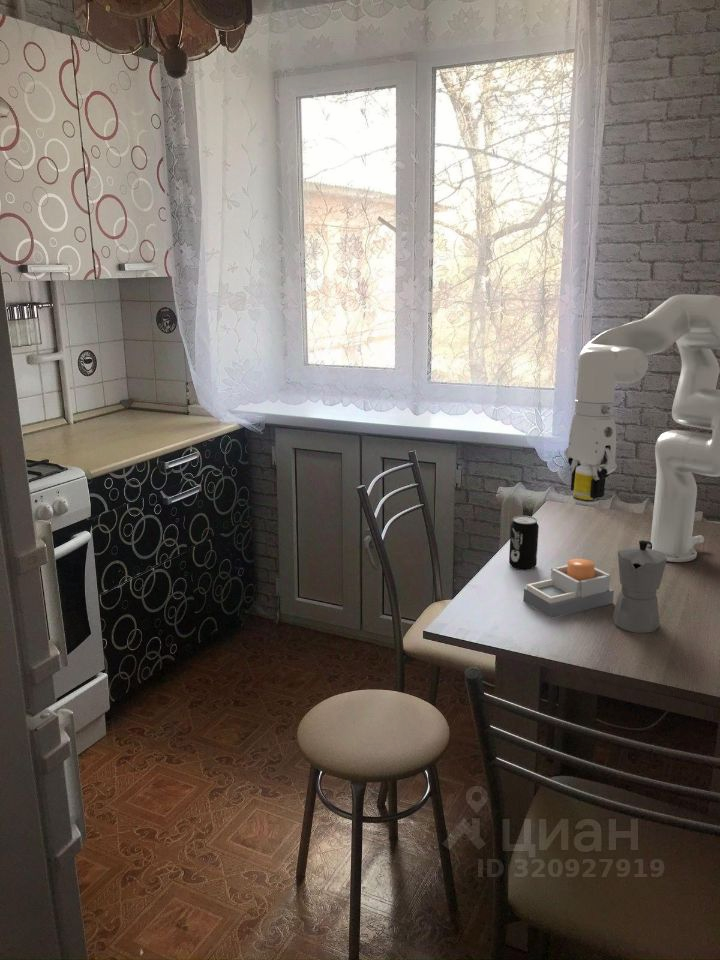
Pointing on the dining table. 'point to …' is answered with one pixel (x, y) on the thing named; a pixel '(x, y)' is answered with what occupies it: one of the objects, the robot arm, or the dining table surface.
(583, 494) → the supplement bottle
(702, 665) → the dining table surface
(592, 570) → the orange rounded capsule
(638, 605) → the coffeepot
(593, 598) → the grey divided storage tray
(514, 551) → the beverage can
